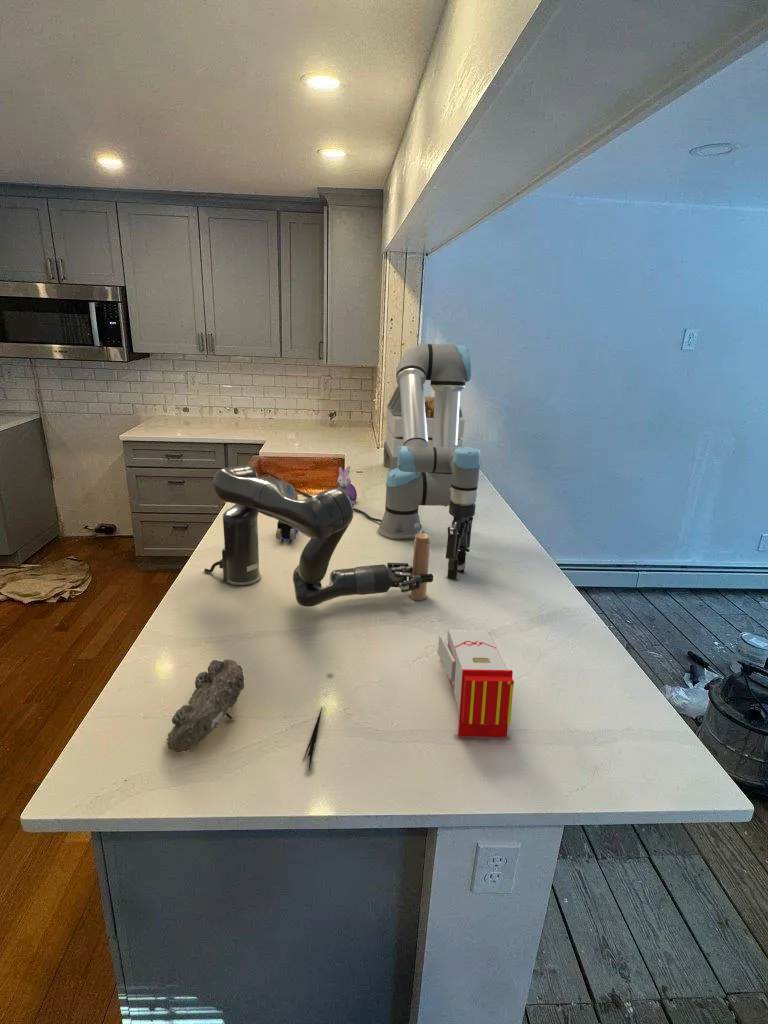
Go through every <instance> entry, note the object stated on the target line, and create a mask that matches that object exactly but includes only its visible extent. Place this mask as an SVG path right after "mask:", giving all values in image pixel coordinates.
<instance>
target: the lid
mask: <svg viewBox="0 0 768 1024" xmlns="http://www.w3.org/2000/svg"><path fill="white" fill-rule="evenodd" d="M457 559H458V558H457ZM448 564H449V561H448V563H447V565H448ZM466 568H467V562H466V560H465V561H464V560H462V559H458V570H463V569H466Z"/></svg>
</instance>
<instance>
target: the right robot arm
mask: <svg viewBox="0 0 768 1024" xmlns="http://www.w3.org/2000/svg"><path fill="white" fill-rule="evenodd" d="M395 370H396V371H395V379H396V384H397V386H398V385H399V386H400V396H401V414H402V431H403V446H400V447H399V448H398V452H397V467H398V468H395V469H392V470H391V471H390V470H388V473H387V475H386V482H385V487H386V488H385V489H386V490H385V504H384V505H385V507H384V508H385V509H384V513H383V515H382V519H381V518H374V517H372V516H370V515H368V514H367V512H365V511H363V510H361V509H358V508H354V507H353V512H357V513H359V514H362V515H364V517H366V518H367V519H369V520H371V521H373V522H374V521H375V522H379V525H378V533H379V534H380V535H381V536H382V537H385V538H387V539H389V540H395V541H410V540H414V539H415V535H417V534H423V525H422V524H421V518H420V515H419V507H420V506H430V507H431V506H437V507H438V506H441V507H448V513H449V515H450V516H452V517H453V519H452V521H451V526H448V527H447V540H446V550H445V559H448V562H449V564H448V563H447V578H448V579H451V580H453V581H454V580H455V581H456V580H457V579H458V573H462V574H464V573H465V569H466V568H465V569H463V570H458V559H462V560H464V561H465V562H466V559H467V553H470V551H471V549H470V547H471V539H472V538H471V537H472V525H473V522H474V517H475V515H476V508H477V507H476V506H477V505H476V502H477V499H478V498H477V497H478V485H479V477H480V468H481V464H482V462H481V455H482V454H481V451H480V449H478V448H475V447H470V446H463V445H462V446H460V445H457V441H458V423H459V405H460V403H461V392H462V391H463V390H464V389H465V388H466V383H468V382H470V381H471V379H472V372H473V371H472V370H473V367H472V356H471V353H470V350H469V349H468V347H466V346H464V345H459V344H453V343H452V344H443V343H442V344H441V343H439V344H438V343H419V344H416V345H413V346H412V347H410V348H409V349H408V350H407V351H405V353H404V354H403V355H402V357H401V358H400V359H399V361H398V363H397V367H396V369H395ZM426 381H430V385H429V386H430V388H431V389H432V390H433V391H434V396H433V397H434V417H433V438H432V447H428V435H427V423H426V411H425V399H424V397H425V390H424V389H425V388H424V384H425V383H426ZM460 406H461V405H460ZM260 475H261V476H264V475H268V476H269V477H271V478H276V479H279V480H282V479H281V478H280V477H278V476H277V475H274V474H273V473H270V472H268V471H263V472H262V473H261V474H260ZM293 488H294V489H295V491H296V493H297V494H301V495H303V496H305V497H307V498H310V497H312V496H313V495H311V494H309V493H305V492H303V491H301V490H299V489H297V488H295V487H293ZM457 558H458V559H457Z"/></svg>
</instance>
